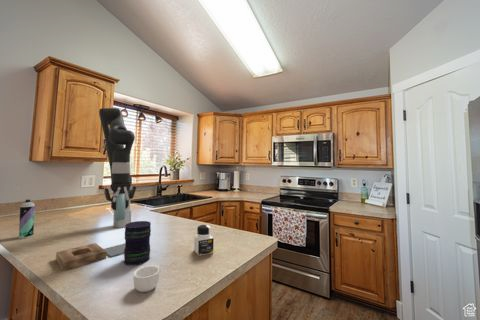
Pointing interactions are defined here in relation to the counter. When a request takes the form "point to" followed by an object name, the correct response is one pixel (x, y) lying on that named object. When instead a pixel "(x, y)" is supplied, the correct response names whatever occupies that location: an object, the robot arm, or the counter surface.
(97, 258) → the pocket block
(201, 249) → the medicine bottle
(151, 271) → the teacup
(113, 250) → the mat
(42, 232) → the counter surface
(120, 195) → the peg
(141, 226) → the storage jar
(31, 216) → the spray can
